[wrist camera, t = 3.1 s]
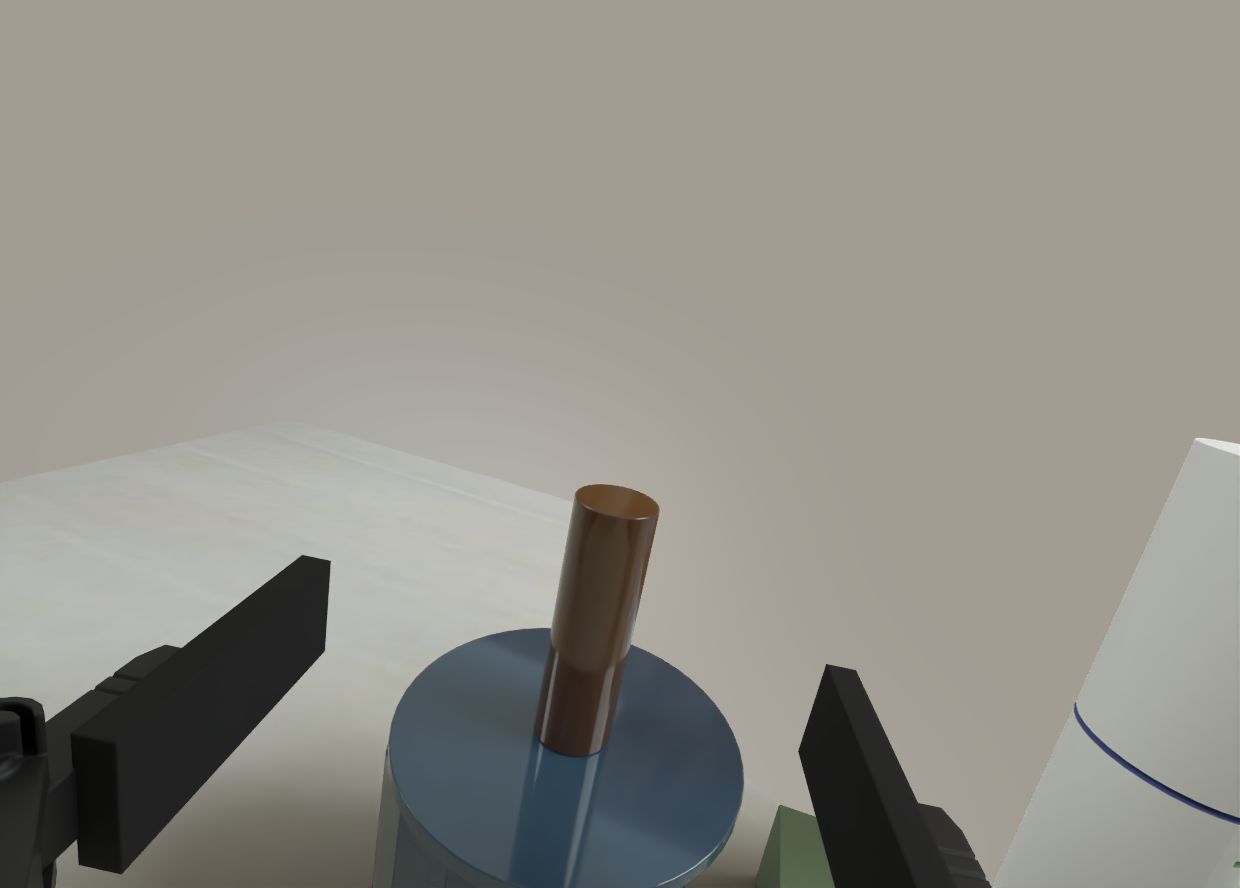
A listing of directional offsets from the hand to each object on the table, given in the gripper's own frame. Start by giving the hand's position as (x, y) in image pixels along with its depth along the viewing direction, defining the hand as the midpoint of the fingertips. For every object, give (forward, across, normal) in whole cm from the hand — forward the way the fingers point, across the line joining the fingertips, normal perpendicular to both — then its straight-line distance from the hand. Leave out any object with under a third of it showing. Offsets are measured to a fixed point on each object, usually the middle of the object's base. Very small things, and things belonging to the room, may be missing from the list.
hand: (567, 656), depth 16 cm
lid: (+5, 0, -7) cm, 9 cm away
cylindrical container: (+9, +25, -18) cm, 32 cm away
